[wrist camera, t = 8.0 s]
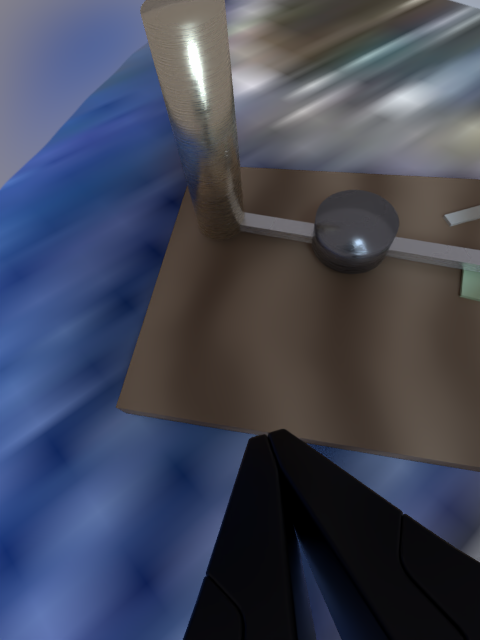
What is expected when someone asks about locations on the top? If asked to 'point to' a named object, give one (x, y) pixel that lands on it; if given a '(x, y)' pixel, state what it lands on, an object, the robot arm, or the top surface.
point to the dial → (223, 154)
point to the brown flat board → (320, 327)
